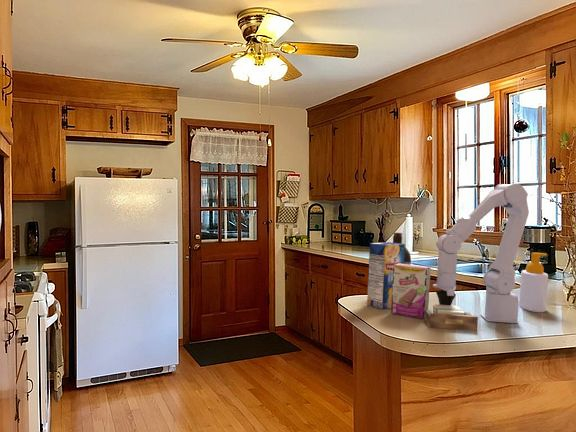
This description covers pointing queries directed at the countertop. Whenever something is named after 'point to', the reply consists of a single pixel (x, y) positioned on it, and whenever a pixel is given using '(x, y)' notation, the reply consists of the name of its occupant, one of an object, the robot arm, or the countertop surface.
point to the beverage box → (383, 272)
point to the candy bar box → (410, 290)
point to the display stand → (451, 321)
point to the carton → (447, 309)
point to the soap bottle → (534, 285)
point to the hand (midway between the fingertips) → (444, 313)
